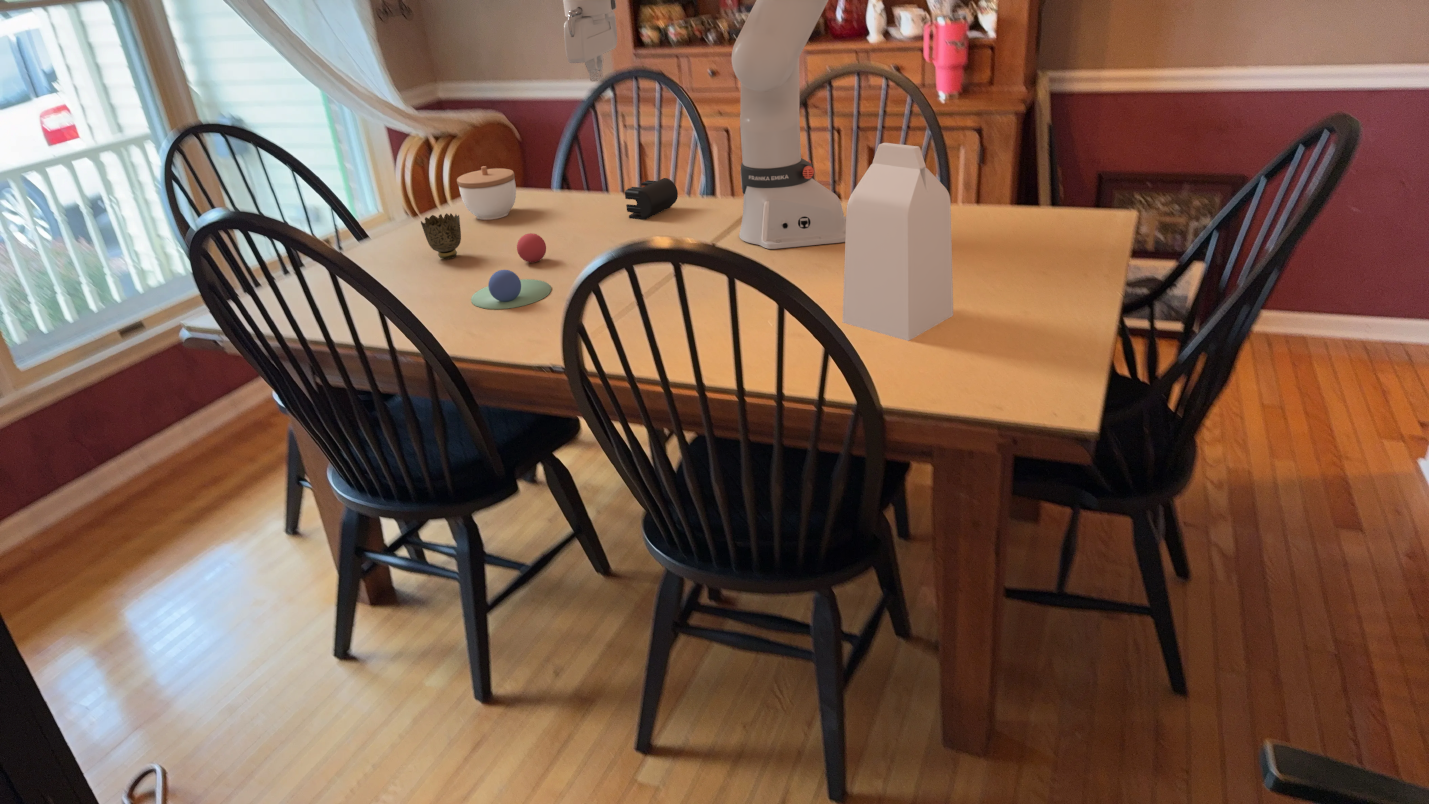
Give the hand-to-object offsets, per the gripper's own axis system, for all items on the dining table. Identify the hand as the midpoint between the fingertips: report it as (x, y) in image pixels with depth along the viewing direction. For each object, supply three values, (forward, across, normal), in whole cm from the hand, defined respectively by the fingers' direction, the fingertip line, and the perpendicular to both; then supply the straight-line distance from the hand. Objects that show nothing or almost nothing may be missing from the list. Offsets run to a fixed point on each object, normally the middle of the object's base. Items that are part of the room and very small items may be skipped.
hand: (596, 80), depth 189 cm
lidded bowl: (+29, +7, +32) cm, 44 cm away
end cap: (+30, +7, -6) cm, 31 cm away
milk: (+29, -51, -62) cm, 85 cm away
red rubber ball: (+26, -24, +8) cm, 37 cm away
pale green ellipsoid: (+29, -42, +6) cm, 51 cm away
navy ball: (+26, -45, +5) cm, 52 cm away
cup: (+29, -22, +28) cm, 46 cm away
